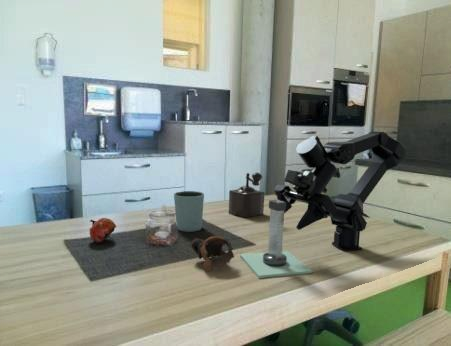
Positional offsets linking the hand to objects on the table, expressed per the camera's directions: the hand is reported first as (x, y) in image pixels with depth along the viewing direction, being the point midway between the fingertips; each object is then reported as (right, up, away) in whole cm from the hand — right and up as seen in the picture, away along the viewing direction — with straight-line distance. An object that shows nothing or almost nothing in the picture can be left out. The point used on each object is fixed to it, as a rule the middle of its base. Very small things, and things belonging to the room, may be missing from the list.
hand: (285, 224), depth 92 cm
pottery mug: (-19, -10, -1) cm, 22 cm away
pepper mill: (-6, -4, +50) cm, 50 cm away
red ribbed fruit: (-52, -7, +14) cm, 54 cm away
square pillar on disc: (-3, -10, 0) cm, 10 cm away
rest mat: (-3, -10, 0) cm, 11 cm away
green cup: (-28, -6, +30) cm, 41 cm away
